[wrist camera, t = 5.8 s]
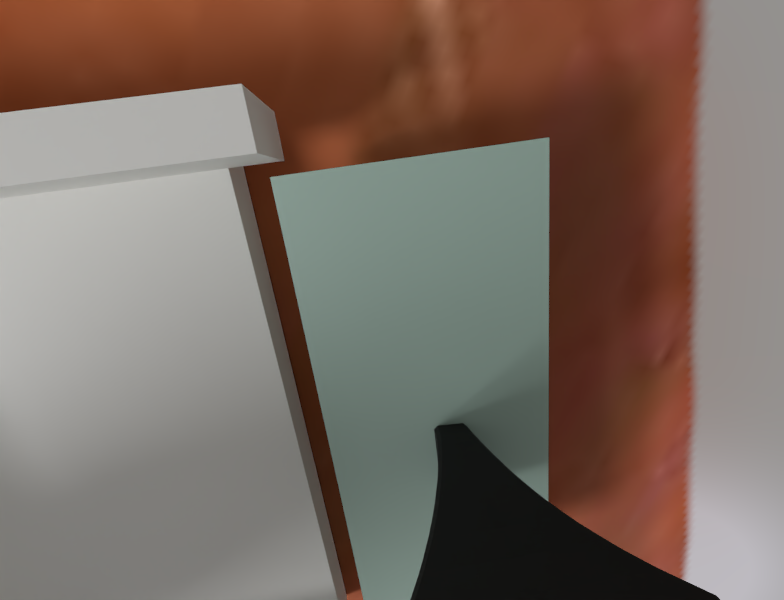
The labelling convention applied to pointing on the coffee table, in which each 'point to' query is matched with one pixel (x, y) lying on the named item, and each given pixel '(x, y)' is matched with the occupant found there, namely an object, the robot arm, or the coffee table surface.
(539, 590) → the robot arm
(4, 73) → the coffee table surface
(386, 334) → the panel
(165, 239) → the grey open tray
